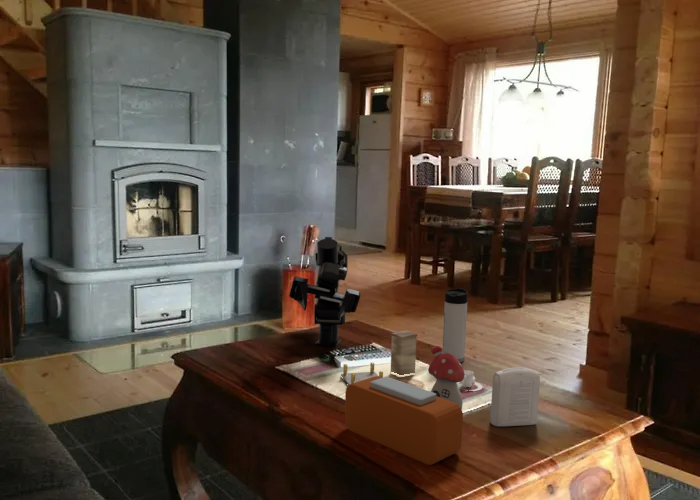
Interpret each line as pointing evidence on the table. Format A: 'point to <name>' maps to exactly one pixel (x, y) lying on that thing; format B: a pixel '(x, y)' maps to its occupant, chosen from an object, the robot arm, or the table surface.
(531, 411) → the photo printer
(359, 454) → the table surface
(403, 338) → the wooden block
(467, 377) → the teacup and saucer
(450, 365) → the decorative ornament
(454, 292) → the travel mug
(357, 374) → the pin base
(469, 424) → the table surface
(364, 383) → the alarm clock
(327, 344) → the robot arm
